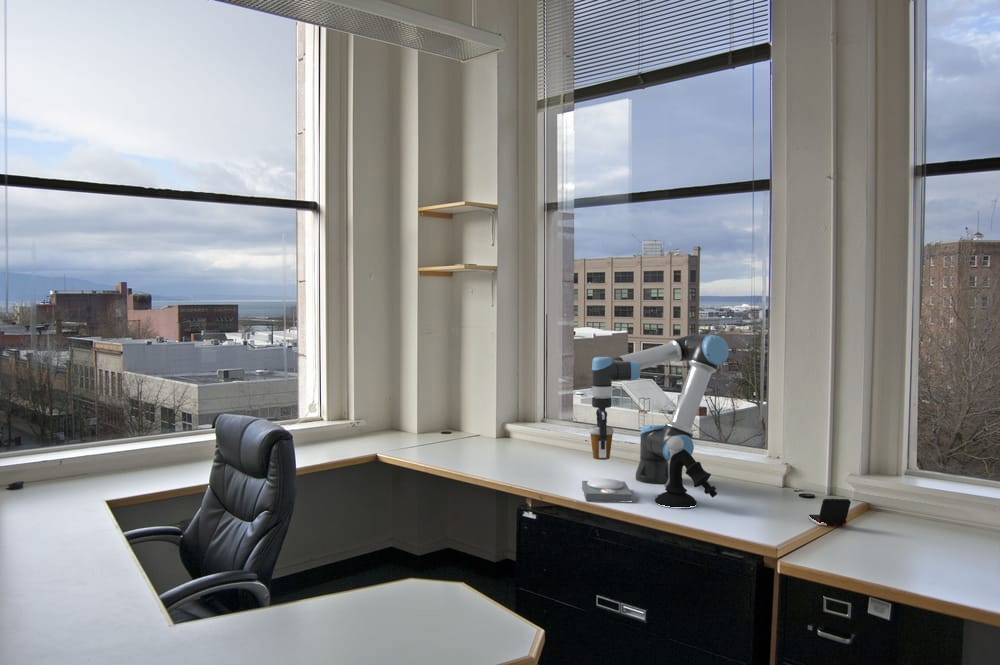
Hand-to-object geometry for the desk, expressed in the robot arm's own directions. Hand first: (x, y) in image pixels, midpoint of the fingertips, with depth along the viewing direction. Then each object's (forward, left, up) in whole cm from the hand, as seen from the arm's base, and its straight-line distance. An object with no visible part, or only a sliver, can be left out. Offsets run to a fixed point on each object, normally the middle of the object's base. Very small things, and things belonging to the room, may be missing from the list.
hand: (601, 454), depth 292 cm
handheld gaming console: (-74, +35, -15) cm, 83 cm away
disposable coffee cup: (0, 0, -1) cm, 1 cm away
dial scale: (-2, +4, -15) cm, 15 cm away
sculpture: (-30, +16, -15) cm, 37 cm away
